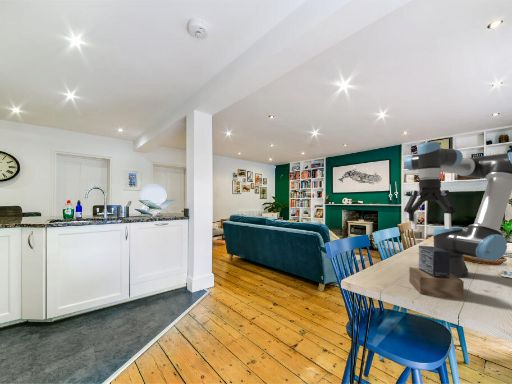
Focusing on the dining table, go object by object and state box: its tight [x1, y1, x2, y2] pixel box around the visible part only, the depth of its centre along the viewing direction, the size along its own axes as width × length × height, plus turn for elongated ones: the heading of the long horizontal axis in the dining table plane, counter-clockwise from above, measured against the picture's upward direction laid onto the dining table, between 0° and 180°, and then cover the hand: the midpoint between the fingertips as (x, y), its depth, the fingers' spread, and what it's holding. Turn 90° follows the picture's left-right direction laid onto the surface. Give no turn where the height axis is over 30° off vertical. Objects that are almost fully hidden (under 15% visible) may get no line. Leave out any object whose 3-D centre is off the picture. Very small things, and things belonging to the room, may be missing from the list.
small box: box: [418, 245, 450, 278], centre depth 97 cm, size 11×6×10 cm, turn 173°
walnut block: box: [408, 266, 465, 300], centre depth 97 cm, size 14×14×7 cm
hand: (430, 229), depth 99 cm, fingers open, 13 cm apart
